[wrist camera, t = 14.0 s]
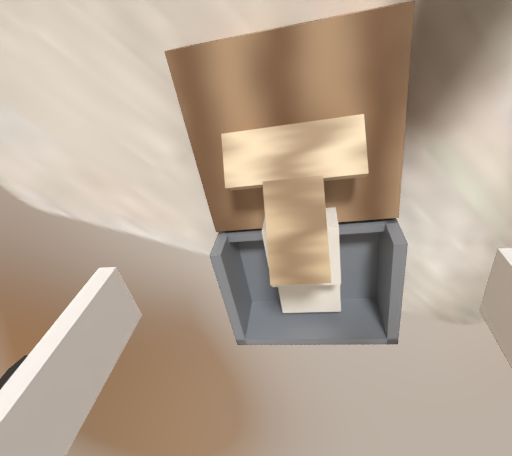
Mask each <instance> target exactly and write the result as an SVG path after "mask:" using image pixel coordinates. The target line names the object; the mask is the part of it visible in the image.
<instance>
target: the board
mask: <svg viewBox="0 0 512 456" xmlns="http://www.w3.org/2000/svg"><path fill="white" fill-rule="evenodd" d="M414 5H415V1H413V2H405V3H399V4H394V5H389V6H384V7H379V8H374V9H369V10H364V11H359V12H354V13H349V14H344V15H339V16H334V17H330V18H325V19H320V20H315V21H310V22H305V23H300V24H295V25H290V26H285V27H280V28H275V29H270V30H265V31H260V32H255V33H250V34H245V35H240V36H235V37H230V38H225V39H220V40H215V41H210V42H205V43H200V44H195V45H190V46H185V47H180V48H176V49H172V50H168V51H165V55H166V58H167V62H168V65H169V69H170V72H171V76H172V79H173V83H174V86H175V90H176V93H177V97H178V100H179V104H180V107H181V111H182V114H183V118H184V121H185V125H186V128H187V132H188V135H189V139H190V142H191V146H192V149H193V153H194V156H195V160H196V163H197V167H198V170H199V174H200V177H201V181H202V184H203V188H204V191H205V195H206V198H207V202H208V205H209V209H210V212H211V216H212V219H213V223H214V226H215V230H216V232H220V231H233V230H246V229H259V228H263V223H264V218H265V208H264V195H263V187H262V188H252V189H242V190H232V191H231V190H228V189H226V188H225V179H224V165H223V151H222V138H221V134H224V133H231V132H238V131H245V130H253V129H260V128H267V127H274V126H281V125H288V124H296V123H303V122H310V121H317V120H324V119H331V118H338V117H346V116H353V115H360V114H364V121H365V133H366V146H367V159H368V171H369V174H368V175H367V176H366V177H359V178H349V179H340V180H330V181H324V194H325V207H326V208H329V207H336V213H337V219H338V222H350V221H363V220H376V219H389V218H399V204H400V191H401V178H402V164H403V151H404V138H405V124H406V111H407V98H408V84H409V71H410V58H411V44H412V31H413V18H414Z"/></svg>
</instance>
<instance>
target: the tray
mask: <svg viewBox="0 0 512 456" xmlns="http://www.w3.org/2000/svg"><path fill="white" fill-rule="evenodd" d="M338 225H339V244H340V268H341V284H340V299H341V312H305V313H283V312H282V306H281V301H280V295H279V290H278V287H272V286H270V275H269V267H268V262H267V257H266V252H265V246H264V241H263V236H262V228H259V229H246V230H233V231H220V232H219V233H218V236H217V238H216V241H215V243H214V246H213V248H212V251H211V253H210V259H211V262H212V265H213V268H214V271H215V275H216V278H217V281H218V284H219V288H220V290H221V294H222V297H223V300H224V303H225V307H226V309H227V313H228V316H229V319H230V323H231V325H232V329H233V332H234V335H235V339H236V342H237V344H238V345H303V344H304V345H307V344H308V345H309V344H310V345H311V344H313V345H316V344H319V345H320V344H398V337H399V327H400V317H401V307H402V296H403V286H404V276H405V266H406V255H407V245H408V243H407V241H406V239H405V237H404V235H403V232H402V230H401V228H400V226H399V224H398V221H397V219H396V218H389V219H376V220H363V221H350V222H338Z"/></svg>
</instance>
